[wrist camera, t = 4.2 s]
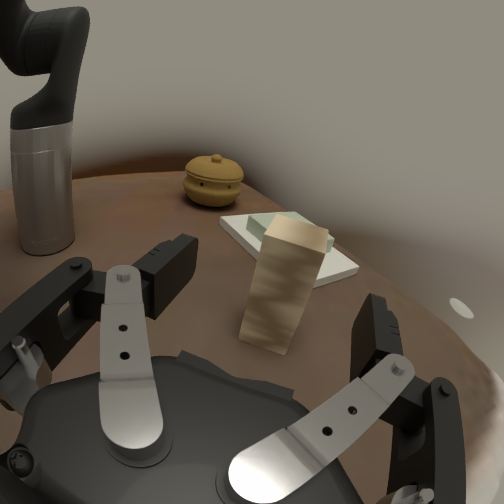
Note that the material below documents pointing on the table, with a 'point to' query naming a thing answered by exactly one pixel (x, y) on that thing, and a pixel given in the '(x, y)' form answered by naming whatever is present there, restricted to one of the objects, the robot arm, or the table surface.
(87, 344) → the table surface
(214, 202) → the pot
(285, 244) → the birch column
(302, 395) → the table surface
